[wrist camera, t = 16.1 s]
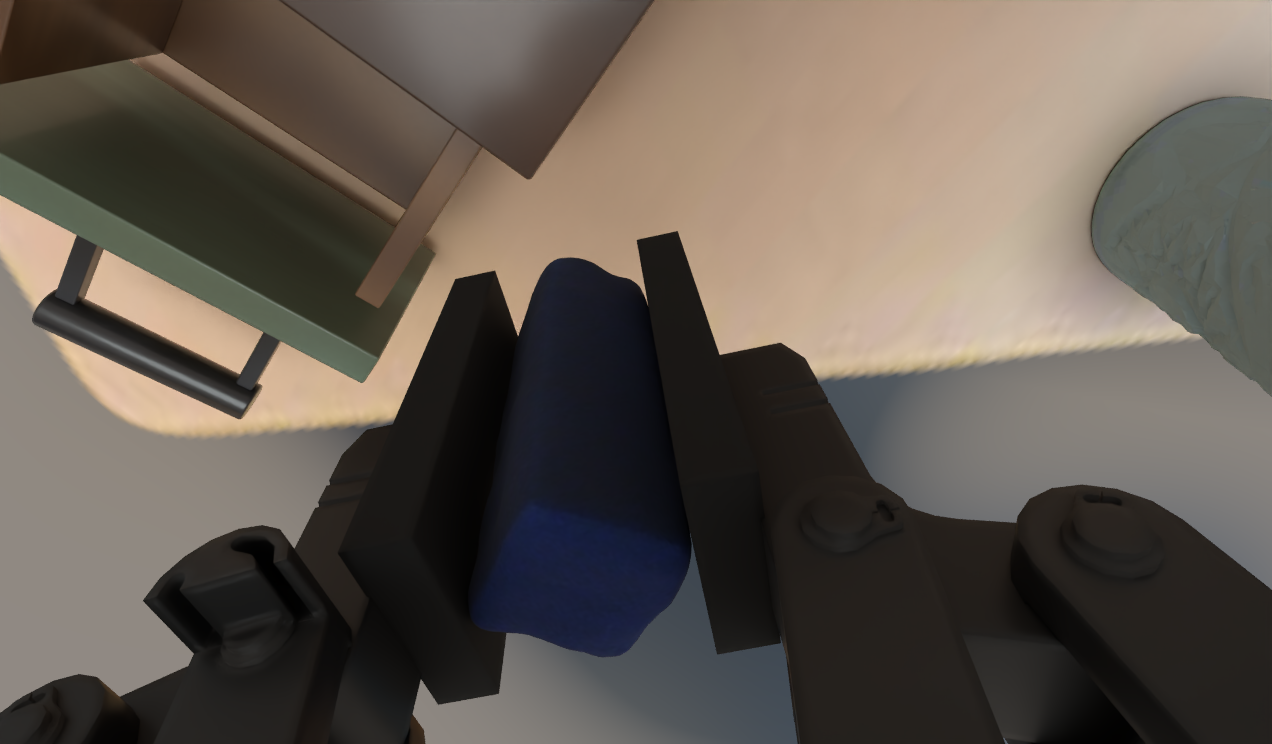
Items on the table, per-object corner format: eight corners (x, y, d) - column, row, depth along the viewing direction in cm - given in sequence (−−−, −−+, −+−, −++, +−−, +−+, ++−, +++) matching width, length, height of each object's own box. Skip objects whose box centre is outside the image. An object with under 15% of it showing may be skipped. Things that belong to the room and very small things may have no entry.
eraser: (553, 238, 12) (514, 505, 6) (660, 288, 12) (716, 570, 7) (510, 331, 13) (439, 636, 7) (610, 372, 13) (621, 681, 8)
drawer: (356, 375, 31) (280, 507, 23) (63, 221, 26) (-153, 324, 18) (626, -36, 22) (644, -39, 15) (268, -369, 18) (32, -619, 10)
